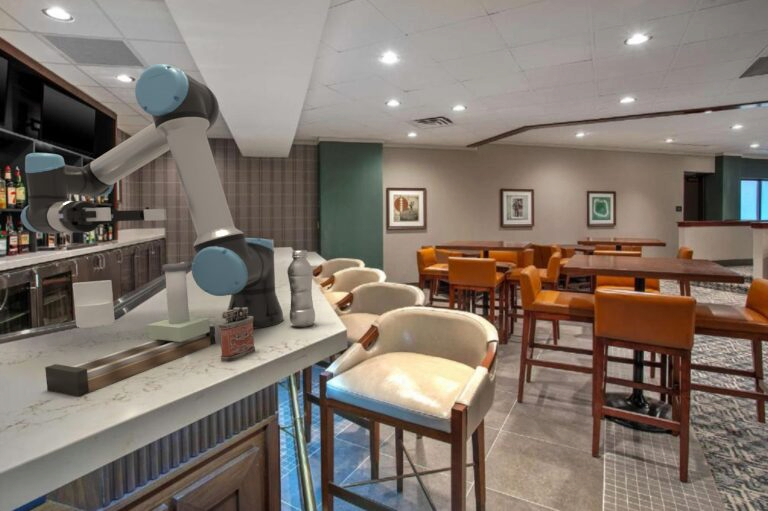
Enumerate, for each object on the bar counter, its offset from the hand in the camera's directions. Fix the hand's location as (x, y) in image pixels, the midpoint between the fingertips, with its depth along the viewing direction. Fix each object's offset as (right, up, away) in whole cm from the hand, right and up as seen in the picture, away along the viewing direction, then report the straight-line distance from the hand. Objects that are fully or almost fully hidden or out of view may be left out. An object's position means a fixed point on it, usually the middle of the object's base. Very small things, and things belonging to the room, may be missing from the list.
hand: (139, 214), depth 91 cm
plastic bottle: (+33, -28, +17) cm, 46 cm away
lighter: (+24, -30, -6) cm, 39 cm away
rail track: (+7, -31, -9) cm, 33 cm away
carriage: (+10, -27, -1) cm, 28 cm away
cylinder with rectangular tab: (-28, -29, +26) cm, 48 cm away
